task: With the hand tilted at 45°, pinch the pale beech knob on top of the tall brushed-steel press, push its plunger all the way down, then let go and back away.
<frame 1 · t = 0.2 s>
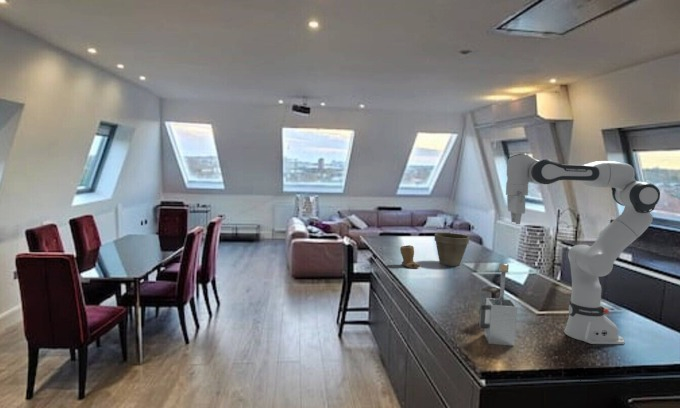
hand: (515, 223, 188), 48 cm above the kitchen island, tool pointing down, fingers open, 8 cm apart
brown boot: (408, 266, 310), on the kitchen island
press: (498, 339, 181), on the kitchen island
plunger: (502, 291, 179), point 21 cm above the kitchen island, slide at 8.0 cm
coffee box: (488, 323, 201), on the kitchen island
plant pot: (450, 264, 323), on the kitchen island
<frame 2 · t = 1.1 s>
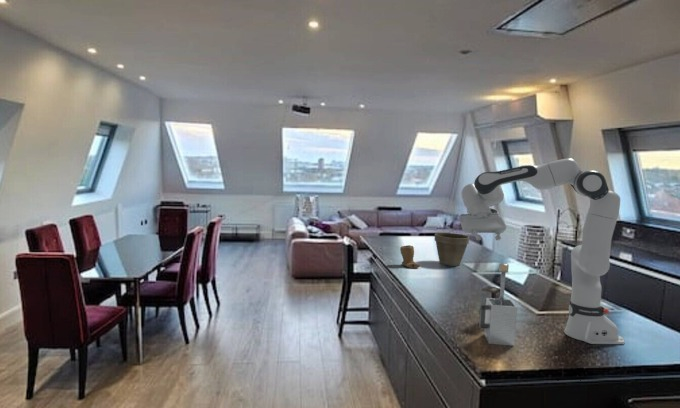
hand: (489, 239, 189), 40 cm above the kitchen island, tool tilted 45°, fingers open, 8 cm apart
nothing on the kitchen island moved.
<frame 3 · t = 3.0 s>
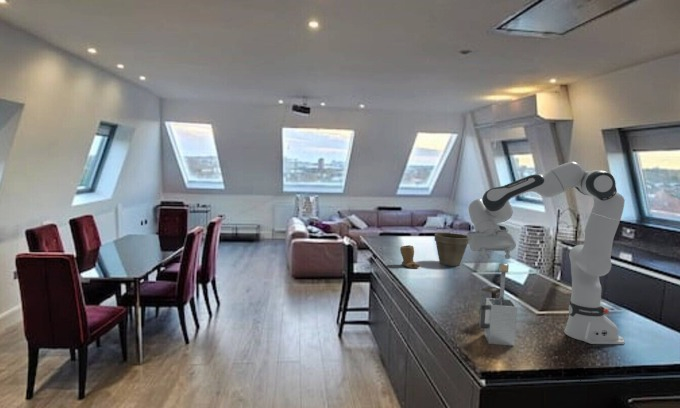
hand: (498, 258, 182), 34 cm above the kitchen island, tool tilted 45°, fingers open, 8 cm apart
nothing on the kitchen island moved.
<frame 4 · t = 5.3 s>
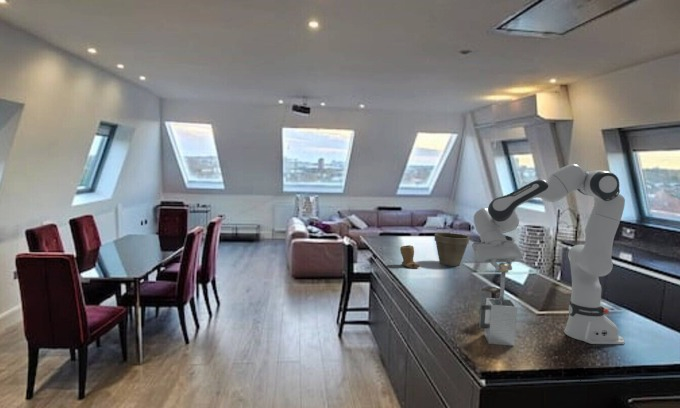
hand: (504, 269, 178), 30 cm above the kitchen island, tool tilted 45°, fingers closed on plunger, 4 cm apart
plunger: (502, 291, 179), point 21 cm above the kitchen island, slide at 8.0 cm, touching gripper
everything else where it was.
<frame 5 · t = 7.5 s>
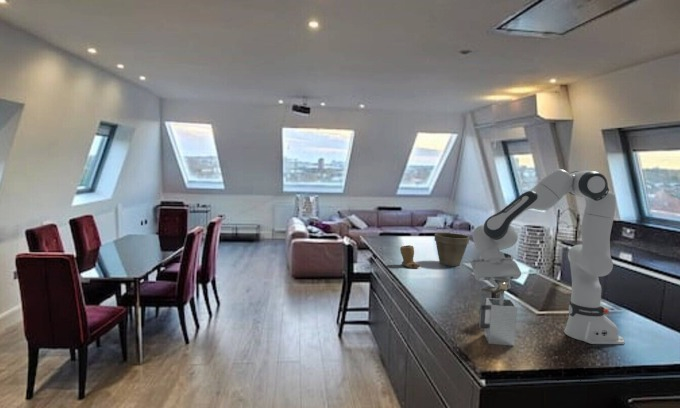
hand: (503, 288, 178), 22 cm above the kitchen island, tool tilted 45°, fingers closed on plunger, 4 cm apart
plunger: (500, 309, 180), point 13 cm above the kitchen island, slide at 0.4 cm, touching gripper
everything else where it was.
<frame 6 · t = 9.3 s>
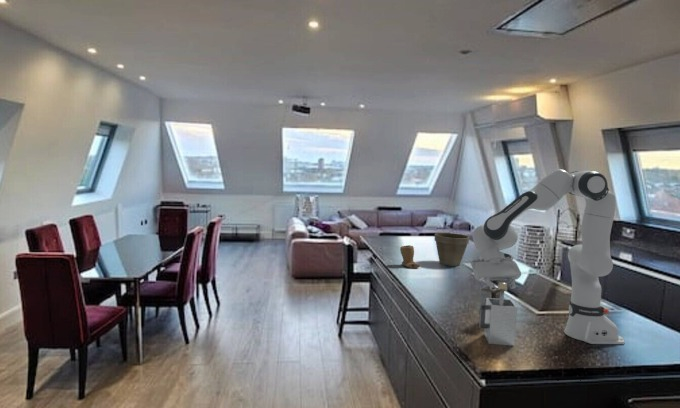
hand: (503, 288, 178), 22 cm above the kitchen island, tool tilted 45°, fingers open, 8 cm apart
plunger: (500, 309, 180), point 13 cm above the kitchen island, slide at 0.3 cm
everything else where it was.
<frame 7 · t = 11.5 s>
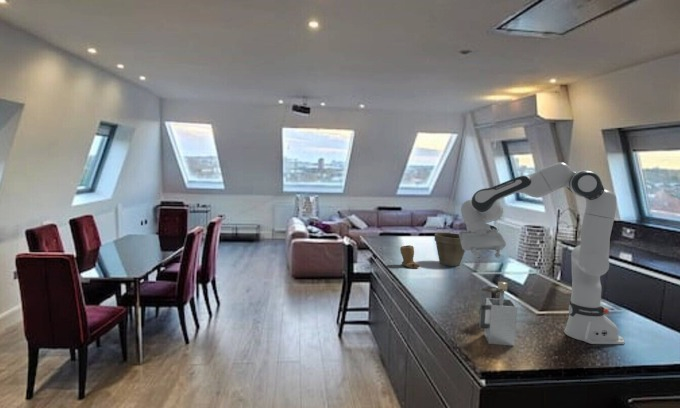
hand: (488, 257, 190), 32 cm above the kitchen island, tool tilted 45°, fingers open, 8 cm apart
nothing on the kitchen island moved.
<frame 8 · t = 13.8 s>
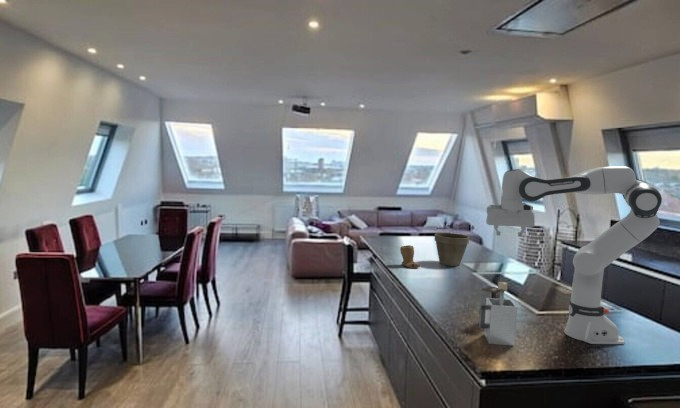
hand: (509, 236, 195), 41 cm above the kitchen island, tool pointing down, fingers open, 8 cm apart
nothing on the kitchen island moved.
at the end: plunger slide at 0.3 cm; the gripper is holding nothing; coffee box moved 0.2 cm from its start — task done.
